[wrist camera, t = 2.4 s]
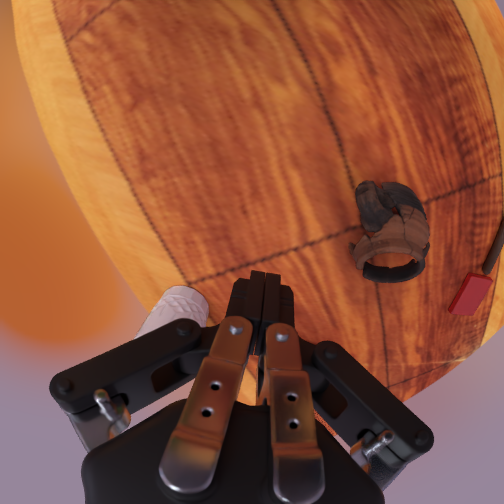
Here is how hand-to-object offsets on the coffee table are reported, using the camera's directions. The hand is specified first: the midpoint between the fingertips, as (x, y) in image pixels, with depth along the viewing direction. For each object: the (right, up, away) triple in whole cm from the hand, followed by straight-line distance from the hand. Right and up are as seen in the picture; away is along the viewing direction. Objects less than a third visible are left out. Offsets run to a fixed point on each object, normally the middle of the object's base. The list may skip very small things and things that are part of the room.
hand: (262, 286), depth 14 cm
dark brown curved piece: (+13, +6, +13) cm, 20 cm away
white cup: (-10, -5, +22) cm, 25 cm away
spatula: (+34, +1, +14) cm, 37 cm away
